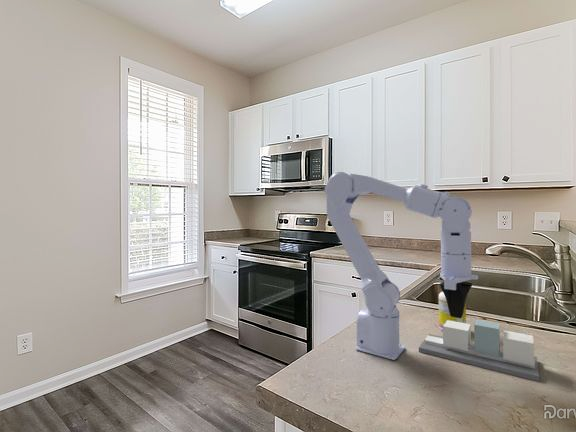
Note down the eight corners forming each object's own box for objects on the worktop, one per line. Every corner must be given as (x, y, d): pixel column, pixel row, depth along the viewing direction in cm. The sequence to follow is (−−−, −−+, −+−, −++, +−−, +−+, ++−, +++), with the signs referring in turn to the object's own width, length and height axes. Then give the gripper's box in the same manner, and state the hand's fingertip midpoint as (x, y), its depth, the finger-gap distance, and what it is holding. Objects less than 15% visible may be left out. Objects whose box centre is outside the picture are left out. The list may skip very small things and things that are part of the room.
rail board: (418, 351, 73) (418, 325, 73) (428, 337, 81) (428, 313, 81) (539, 381, 60) (539, 349, 60) (536, 361, 68) (536, 332, 68)
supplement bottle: (457, 325, 89) (456, 281, 89) (471, 335, 83) (471, 286, 82) (434, 326, 89) (434, 281, 89) (446, 335, 82) (446, 287, 82)
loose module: (474, 351, 69) (474, 324, 69) (476, 345, 72) (476, 319, 72) (498, 357, 66) (498, 329, 66) (500, 350, 69) (500, 323, 69)
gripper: (473, 258, 58) (474, 331, 58) (481, 250, 70) (481, 311, 70) (432, 256, 62) (433, 323, 62) (446, 248, 74) (447, 305, 74)
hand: (456, 316), depth 66 cm, fingers closed
